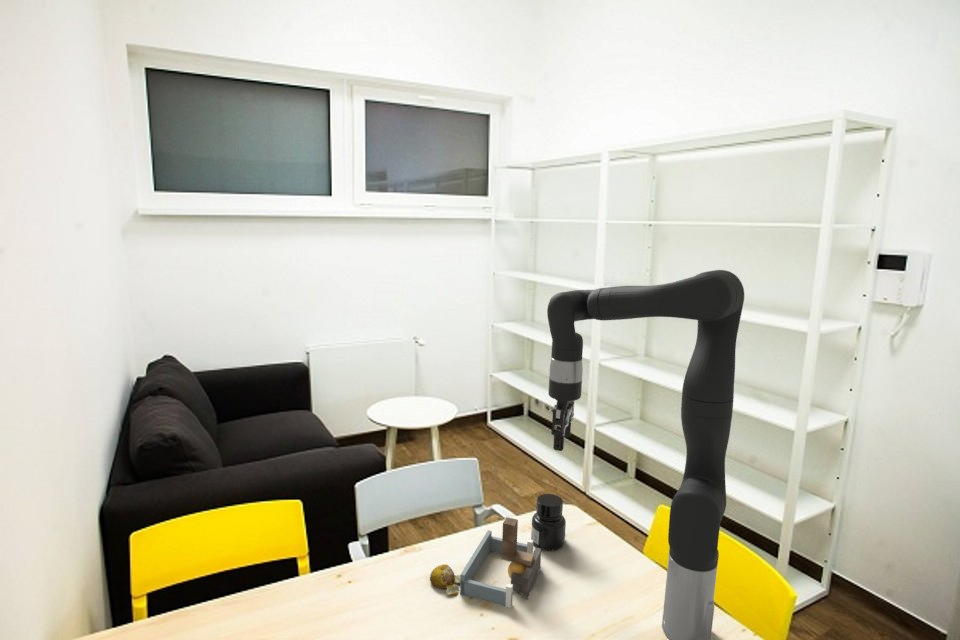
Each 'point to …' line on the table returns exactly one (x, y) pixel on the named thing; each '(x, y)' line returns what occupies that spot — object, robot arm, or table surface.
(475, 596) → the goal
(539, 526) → the ink bottle
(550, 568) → the table surface
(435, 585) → the fruit
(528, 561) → the kicker
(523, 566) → the ball
